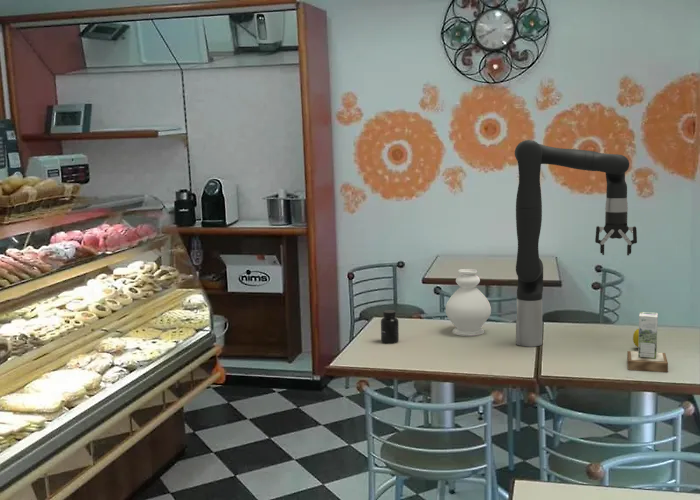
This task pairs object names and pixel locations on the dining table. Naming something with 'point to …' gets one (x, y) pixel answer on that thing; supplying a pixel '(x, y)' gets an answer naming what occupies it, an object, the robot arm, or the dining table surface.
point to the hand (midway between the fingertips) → (615, 254)
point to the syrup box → (648, 335)
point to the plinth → (647, 362)
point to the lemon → (636, 337)
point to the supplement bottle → (389, 327)
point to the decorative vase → (468, 305)
